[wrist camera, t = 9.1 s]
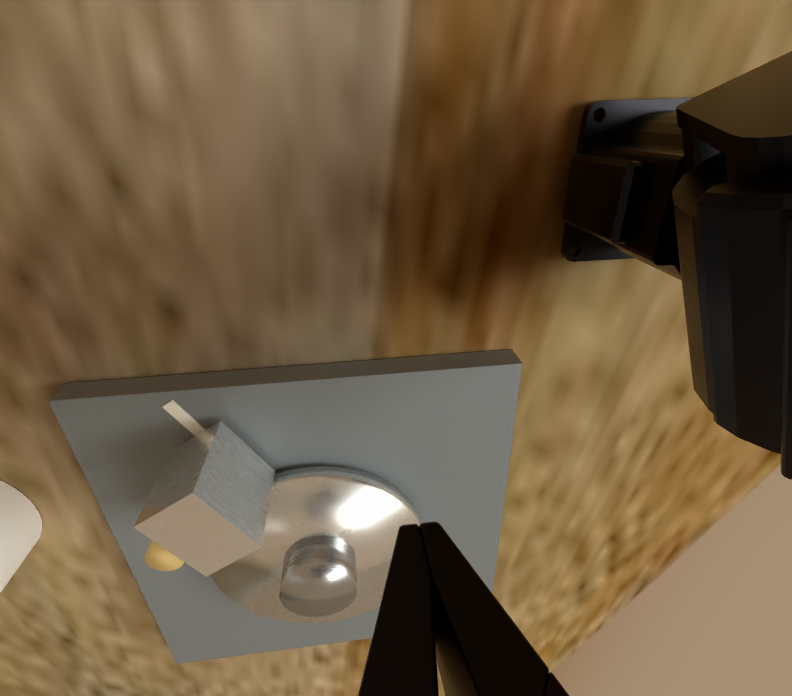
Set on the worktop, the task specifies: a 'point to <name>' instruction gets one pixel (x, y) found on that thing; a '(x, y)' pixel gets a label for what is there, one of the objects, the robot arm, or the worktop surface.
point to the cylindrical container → (16, 530)
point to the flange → (277, 528)
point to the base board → (299, 465)
